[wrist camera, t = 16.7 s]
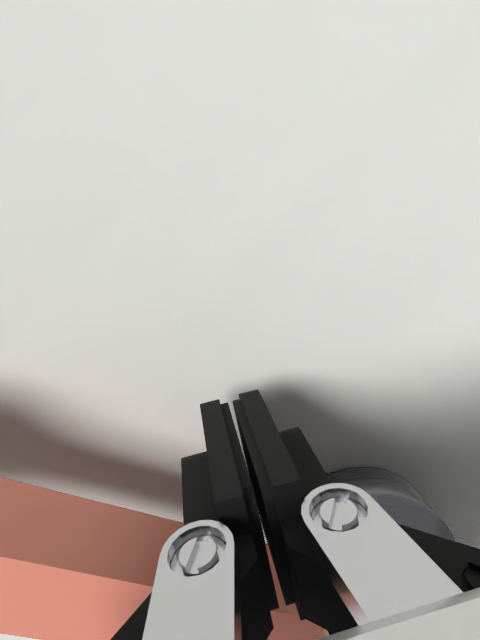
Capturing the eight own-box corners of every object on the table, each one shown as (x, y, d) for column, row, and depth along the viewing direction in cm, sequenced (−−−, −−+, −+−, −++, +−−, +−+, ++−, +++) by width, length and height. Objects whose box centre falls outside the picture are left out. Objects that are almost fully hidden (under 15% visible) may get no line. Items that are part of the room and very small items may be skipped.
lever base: (416, 445, 14) (563, 588, 9) (431, 572, 16) (560, 753, 11) (249, 500, 13) (301, 688, 8) (285, 625, 15) (347, 843, 10)
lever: (457, 541, 13) (543, 642, 10) (391, 642, 14) (452, 763, 11) (-230, 341, 8) (-458, 421, 5) (-271, 514, 9) (-489, 671, 6)
